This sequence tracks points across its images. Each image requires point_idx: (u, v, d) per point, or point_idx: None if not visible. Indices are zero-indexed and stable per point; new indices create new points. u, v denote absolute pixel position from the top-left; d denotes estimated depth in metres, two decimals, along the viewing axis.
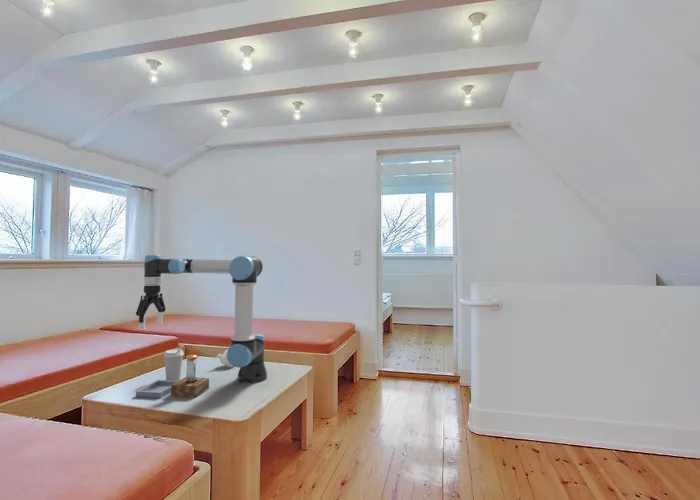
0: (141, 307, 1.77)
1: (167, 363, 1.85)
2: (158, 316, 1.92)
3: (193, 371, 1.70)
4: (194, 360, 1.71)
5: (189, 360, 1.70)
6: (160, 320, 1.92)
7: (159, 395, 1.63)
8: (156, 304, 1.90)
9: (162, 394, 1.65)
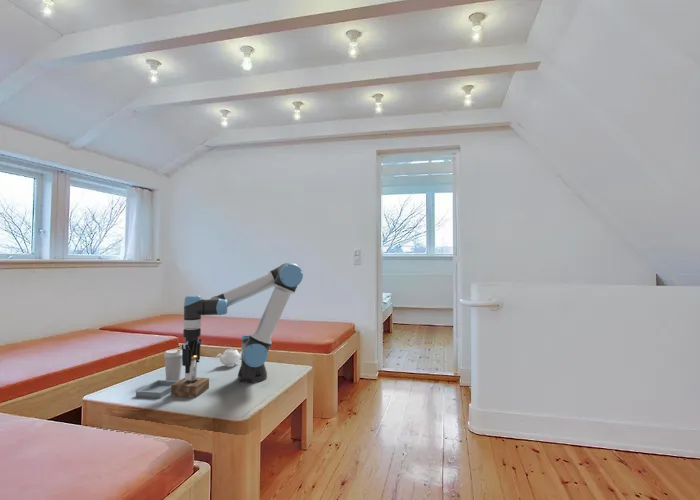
0: (186, 358, 1.66)
1: (167, 363, 1.85)
2: None
3: (193, 371, 1.70)
4: (194, 360, 1.71)
5: None
6: None
7: (159, 395, 1.63)
8: (193, 351, 1.74)
9: (162, 394, 1.65)
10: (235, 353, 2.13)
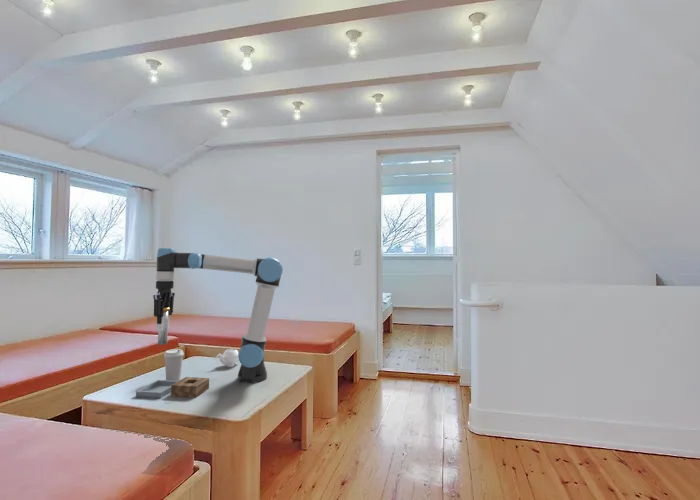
0: (157, 308, 1.67)
1: (167, 363, 1.85)
2: None
3: (165, 322, 1.72)
4: (166, 312, 1.72)
5: None
6: None
7: (159, 395, 1.63)
8: (166, 303, 1.75)
9: (162, 394, 1.65)
10: (235, 353, 2.13)
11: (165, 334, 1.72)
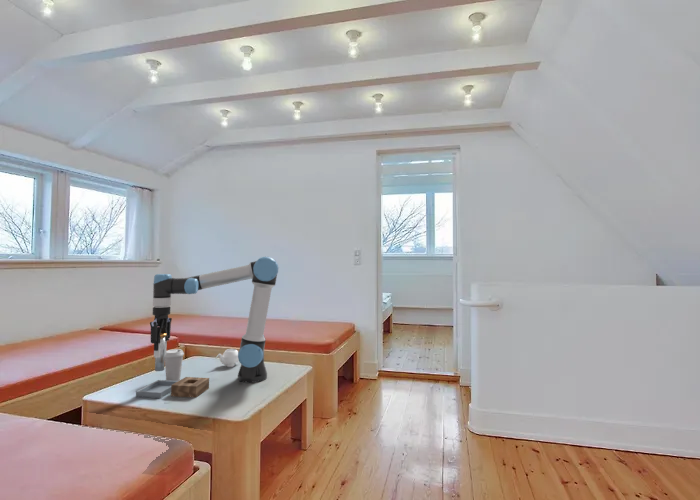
0: (154, 335, 1.67)
1: (167, 363, 1.85)
2: None
3: (162, 349, 1.71)
4: (163, 338, 1.72)
5: None
6: None
7: (159, 395, 1.63)
8: (163, 329, 1.74)
9: (162, 394, 1.65)
10: (235, 353, 2.13)
11: (162, 360, 1.71)
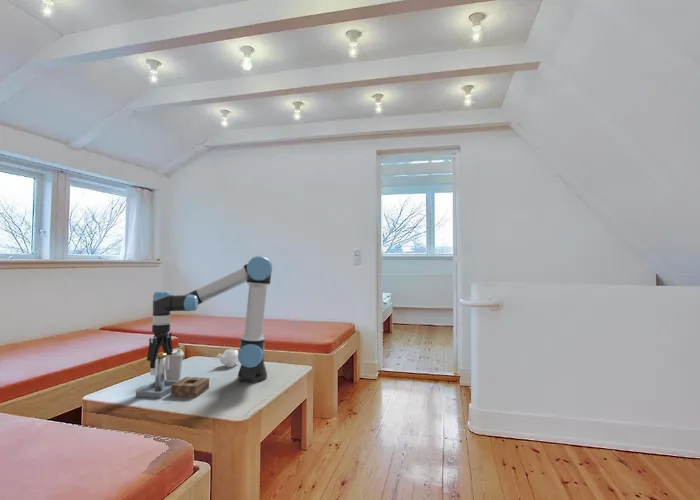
0: (151, 352, 1.65)
1: None
2: None
3: (162, 369, 1.71)
4: (163, 358, 1.72)
5: (158, 358, 1.71)
6: (167, 364, 1.76)
7: (159, 395, 1.63)
8: (164, 345, 1.75)
9: (162, 394, 1.65)
10: (235, 353, 2.13)
11: (162, 380, 1.71)
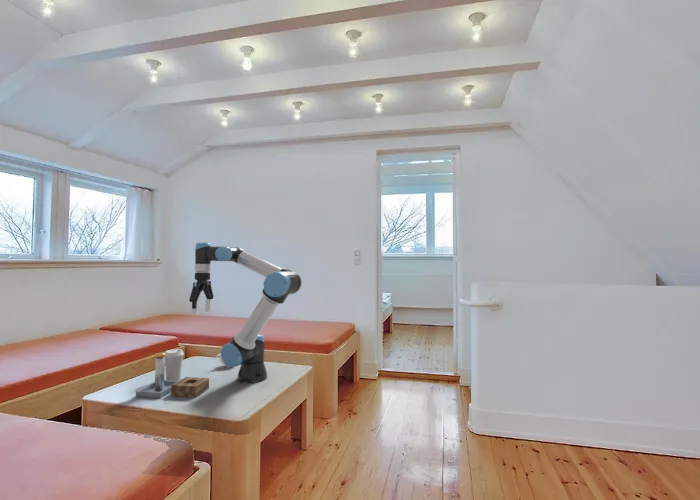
0: (194, 293, 1.80)
1: (167, 363, 1.85)
2: (207, 303, 1.95)
3: (162, 369, 1.71)
4: (163, 358, 1.72)
5: (157, 358, 1.70)
6: (209, 307, 1.95)
7: (159, 395, 1.63)
8: (205, 291, 1.93)
9: (162, 394, 1.65)
10: None
11: (162, 380, 1.71)
